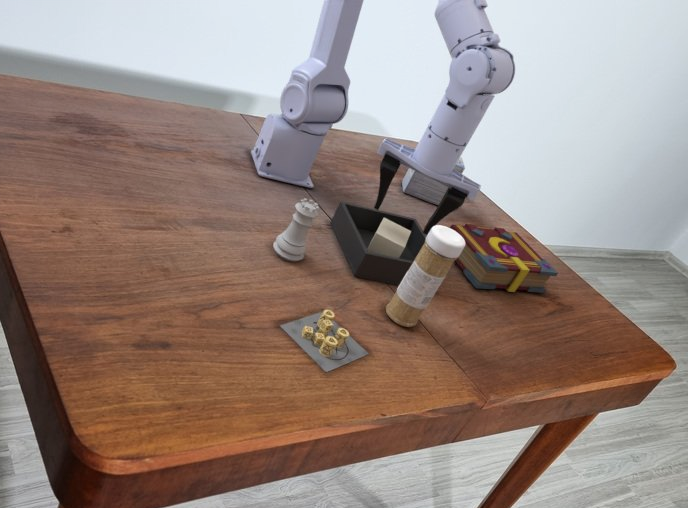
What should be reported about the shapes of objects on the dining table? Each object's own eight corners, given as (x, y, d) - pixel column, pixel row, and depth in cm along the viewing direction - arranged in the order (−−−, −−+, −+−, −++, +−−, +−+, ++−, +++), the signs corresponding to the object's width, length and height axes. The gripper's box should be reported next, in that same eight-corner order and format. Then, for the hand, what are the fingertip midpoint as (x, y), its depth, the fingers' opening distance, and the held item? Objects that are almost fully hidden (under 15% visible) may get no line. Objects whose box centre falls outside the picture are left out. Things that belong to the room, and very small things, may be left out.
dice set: (322, 319, 86) (328, 308, 85) (351, 347, 83) (358, 335, 82) (294, 329, 82) (300, 317, 81) (324, 358, 80) (331, 346, 79)
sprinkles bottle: (403, 305, 96) (452, 224, 88) (422, 328, 93) (474, 246, 85) (378, 305, 93) (425, 222, 86) (396, 329, 90) (447, 245, 83)
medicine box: (439, 197, 131) (462, 157, 126) (442, 208, 127) (466, 167, 123) (400, 182, 130) (422, 141, 125) (402, 192, 126) (424, 150, 122)
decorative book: (437, 244, 114) (452, 219, 112) (507, 252, 122) (523, 229, 120) (475, 290, 107) (492, 264, 104) (547, 295, 115) (565, 271, 112)
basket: (353, 276, 97) (366, 253, 95) (329, 222, 107) (340, 200, 105) (434, 292, 102) (447, 270, 99) (404, 239, 112) (415, 218, 110)
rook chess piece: (307, 255, 97) (330, 206, 93) (295, 267, 93) (318, 217, 89) (279, 238, 98) (301, 190, 93) (266, 250, 94) (288, 200, 90)
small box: (364, 255, 102) (376, 232, 99) (372, 238, 107) (383, 217, 105) (392, 269, 101) (404, 247, 99) (399, 252, 106) (411, 231, 104)
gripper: (499, 150, 96) (450, 231, 103) (403, 103, 97) (361, 186, 105) (496, 166, 90) (445, 251, 97) (394, 116, 91) (351, 203, 99)
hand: (401, 218), depth 101 cm, fingers open, 7 cm apart
